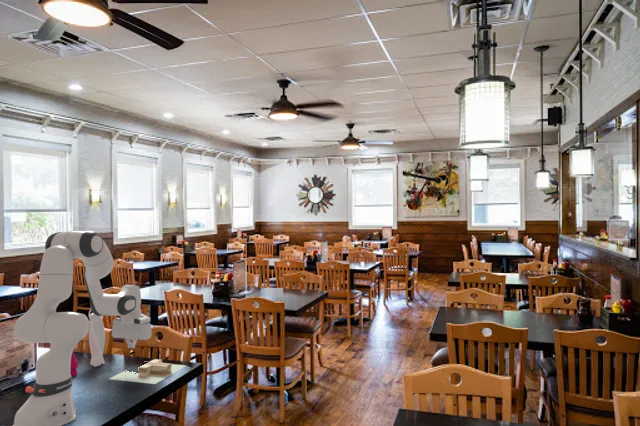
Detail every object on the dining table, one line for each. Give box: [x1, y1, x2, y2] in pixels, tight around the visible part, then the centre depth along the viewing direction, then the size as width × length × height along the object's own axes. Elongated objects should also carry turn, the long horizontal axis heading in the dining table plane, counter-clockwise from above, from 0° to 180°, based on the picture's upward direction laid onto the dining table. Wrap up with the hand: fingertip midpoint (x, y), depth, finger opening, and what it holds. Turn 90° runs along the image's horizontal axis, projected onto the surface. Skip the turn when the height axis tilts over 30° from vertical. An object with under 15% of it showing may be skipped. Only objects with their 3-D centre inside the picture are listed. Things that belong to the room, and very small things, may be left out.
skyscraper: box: [88, 309, 106, 368], centre depth 224 cm, size 8×7×28 cm
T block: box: [138, 358, 172, 377], centre depth 210 cm, size 12×12×4 cm
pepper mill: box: [70, 346, 79, 378], centre depth 209 cm, size 7×7×20 cm
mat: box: [108, 363, 187, 385], centre depth 211 cm, size 24×25×1 cm
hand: (131, 347), depth 213 cm, fingers closed
